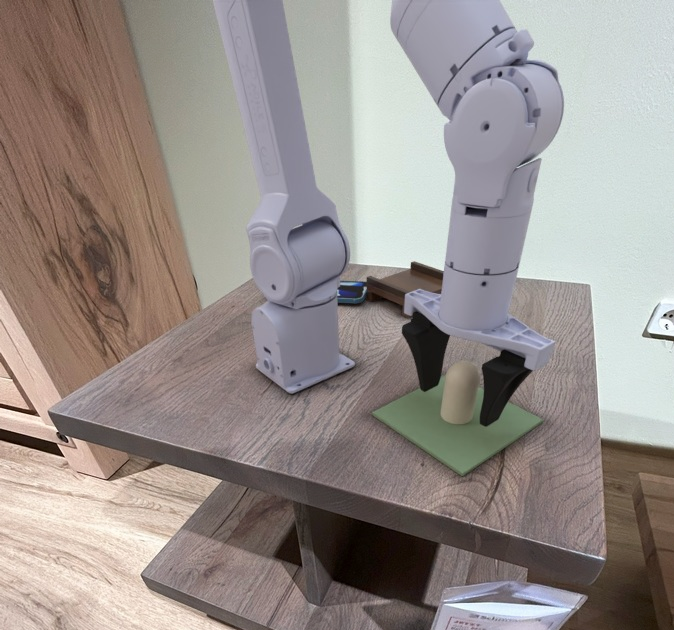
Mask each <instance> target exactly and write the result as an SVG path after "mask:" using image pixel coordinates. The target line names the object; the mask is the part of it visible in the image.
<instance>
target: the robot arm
mask: <svg viewBox="0 0 674 630" xmlns="http://www.w3.org/2000/svg"><path fill="white" fill-rule="evenodd" d="M212 5H213V8H214V12H215V17H216V20H217V24H218V29H219V32H220V38H221V41H222V44H223V49H224V53H225V57H226V61H227V65H228V70H229V73H230V77H231V82H232V85H233V90H234V94H235V99H236V102H237V106H238V109H239V114H240V118H241V122H242V126H243V130H244V133H245V135H244V136H245V139H246V142H247V145H248V150H249V154H250V160H251V163H252V167H253V171H254V174H255V178H256V183H257V187H258V191H259V195H260V200H259V202H258V205H257V206H256V208H255V210H254V212H253V214H252V215H251V217H250V219H249V221H248V223H247V225H246V228H245V231H246V234H247V238H248V242H249V267H250V273H251V276H252V279H253V281H254V284H255V285H256V287H257V289H258V290H259V291H260V293H261V294H262V295H263V296H264V297H265V298H266V299H265V300H266V301H265V302H264V303H263V304H261V305H259V306H258V307H255V308H254V309H253V310H252V312H251V315H250V326H251V331H252V337H253V342H254V348H255V349H254V350H255V354H256V360H257V363H256V364H255V368H256V369H257V370H258V371H259V372H261V373H262V374H263V375H265V376H266V377H267V378H269V379H270V380H271V381H272V382H274V383H275V384H276V385H278V386H279V387H280V388H282V389H283V390H284V391H285V392H287V393H288V394H295V393H297V392H300V391H302V390H304V389H307V388H308V387H311V386H313V385H317V384H318V383H320V382H323V381H325V380H328V379H329V378H331V377H334V376H336V375H338V374H340V373H343V372H346V371H347V370H350V369H352V368H354V367H355V366H356V362H355V361H354V360H353V359H350V358H349V357H347V356H345V355H344V354H343V353H341V352H340V333H339V332H340V331H339V330H340V329H339V307H338V304H339V303H338V301H337V288H338V287H340V280H341V276H343V274H344V273H345V272H346V271H347V269H348V268H349V265H350V262H351V247H350V242H349V239H348V236H347V234H346V233H345V231H344V229H343V227H342V224H341V222H340V219H339V217H338V212H337V206H336V204H335V202H334V201H333V200H331V198H329V197H328V196H327V195H326V194H325V193H324V192H323V191H321V190H320V189H319V188H318V186H317V182H316V181H317V180H316V176H315V171H314V166H313V165H314V164H313V161H312V155H311V148H310V143H309V137H308V132H307V127H306V122H305V116H304V111H303V106H302V100H301V95H300V94H301V93H300V88H299V83H298V78H297V72H296V68H295V62H294V61H295V60H294V55H293V51H292V45H291V39H290V33H289V28H288V22H287V17H286V13H285V5H284V2H283V0H212ZM389 18H390V19H389V20H390V21H389V22H390V29H391V32H392V34H393V36H394V38H395V39H396V41H397V43H398V44H399V46H400V47H401V50H402V51H403V52H404V54H405V56H406V57H407V59H408V60H409V62H410V64H411V66H412V67H413V68H414V71H416V73H417V75H418V77H419V78H420V80H421V82H422V83H423V86H424V87H425V88H426V90H427V91H428V93H429V95H430V97H431V98H432V100H433V102H434V103H435V105H436V107H437V108H438V109H439V111H440V113H441V114H442V116H443V117H445V118H447V120H449V121H448V122H445V123H444V125H443V142H444V148H445V151H446V154H447V157H448V159H449V161H450V163H451V165H452V168H453V171H454V184H453V192H452V199H451V206H450V207H451V208H450V216H449V224H448V233H447V242H446V251H445V258H444V265H443V271H444V274H443V283H442V291H441V294H436V293H431V292H428V291H424V290H421V289H418V290H415V291H412V292H410V293H407V294H405V304H404V313H405V314H407V315H409V316H412V317H411V318H410V321H409V322H406V323H404V324H402V326H401V335H402V336H403V338H404V339H405V341H406V343H407V346H408V347H409V350H410V353H411V355H412V358H413V361H414V365H415V369H416V373H417V378H418V384H419V388H420V389H421V390H422V391H424V392H426V391H428V390H430V389H432V388H434V387H436V386H438V384H439V381H440V378H441V377H442V374H443V366H444V362H445V361H444V360H445V354H446V352H447V347H448V344H449V341H450V338H451V337H454V338H458V339H462V340H466V341H471V342H475V343H480V344H483V345H485V346H487V347H490V348H492V349H494V350H496V351H498V352H500V353H499V356H495V357H493V358H491V359H489V360H486V362H483V363H482V364H481V368H480V369H481V373H482V378H483V389H484V396H483V402H482V407H481V412H480V424H481V425H483V426H485V427H487V426H489V425H490V424H492V423H493V422H495V421H497V420H498V419H499V417H500V415H501V413H502V411H503V409H504V408H505V406H506V404H507V403H508V402H510V399H511V398H512V396H513V395H514V393H515V392H516V391H517V389H519V387H520V386H521V384H522V383H523V382H524V381H525V380H526V379H527V378H528V377H529V376H530V375H531V373H533V372H536V371H538V370H539V369H541V368H544V367H545V366H546V365H548V364H550V361H551V358H552V355H553V351H554V348H555V346H556V345H555V344H556V341H555V340H553V339H551V338H548V337H546V336H544V335H542V334H540V333H539V332H537V331H535V330H534V329H532V328H531V327H529V326H528V325H526V324H525V323H524V322H522V321H521V320H519V319H518V318H517V317H514V316H513V315H512V314H510V309H511V304H512V300H513V295H514V290H515V286H516V282H517V278H518V273H519V268H520V264H521V260H522V255H523V250H524V247H525V241H526V237H527V233H528V229H529V224H530V220H531V214H532V211H533V206H534V203H535V202H534V201H535V191H536V188H537V187H536V186H537V183H538V178H539V174H540V169H541V164H542V158H541V157H539V155H541V154H542V153H543V152H544V151H545V150H546V149H547V148H548V147H549V146H550V145H551V144H552V143H553V140H554V139H555V137H556V136H557V134H558V132H559V129H560V127H561V125H562V121H563V117H564V111H565V97H564V91H563V89H562V86H561V83H560V80H559V73H558V70H557V68H556V67H554V66H553V65H552V64H550V63H548V62H546V61H543V60H540V59H528V56H529V53H530V51H531V50H532V49H533V48H534V46H535V41H534V39H533V37H532V35H531V34H530V31H529V30H528V29H519V30H517V28H516V27H515V25H514V23H513V21H512V20H511V18H510V16H509V14H508V13H507V11H506V9H505V7H504V5H503V4H502V1H501V0H391V9H390V17H389ZM538 157H539V158H538Z"/></svg>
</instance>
